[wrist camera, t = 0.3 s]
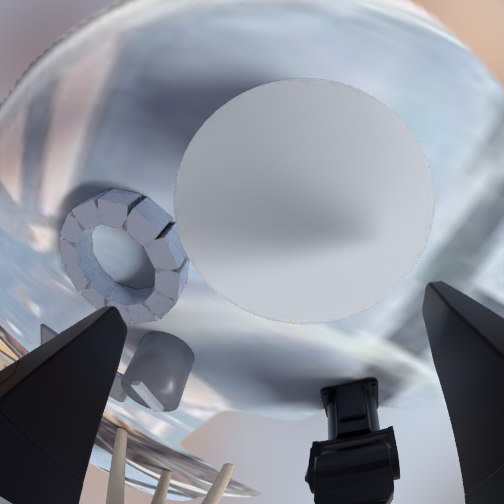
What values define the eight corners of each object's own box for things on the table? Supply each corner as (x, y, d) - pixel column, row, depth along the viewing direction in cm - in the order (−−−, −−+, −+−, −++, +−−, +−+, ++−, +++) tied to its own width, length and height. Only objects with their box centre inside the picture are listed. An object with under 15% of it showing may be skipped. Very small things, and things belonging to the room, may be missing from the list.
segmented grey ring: (209, 295, 26) (202, 314, 24) (111, 311, 29) (101, 327, 27) (154, 169, 21) (139, 179, 19) (57, 213, 24) (41, 225, 22)
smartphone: (39, 324, 32) (132, 384, 34) (43, 319, 33) (135, 379, 35) (41, 351, 36) (122, 404, 38) (44, 347, 36) (125, 399, 39)
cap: (202, 367, 31) (187, 417, 25) (158, 370, 33) (139, 414, 27) (178, 328, 29) (156, 380, 23) (132, 333, 30) (107, 379, 24)
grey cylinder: (212, 147, 20) (128, 212, 9) (300, 66, 16) (316, 21, 6) (293, 228, 22) (291, 354, 12) (380, 158, 19) (470, 234, 8)
